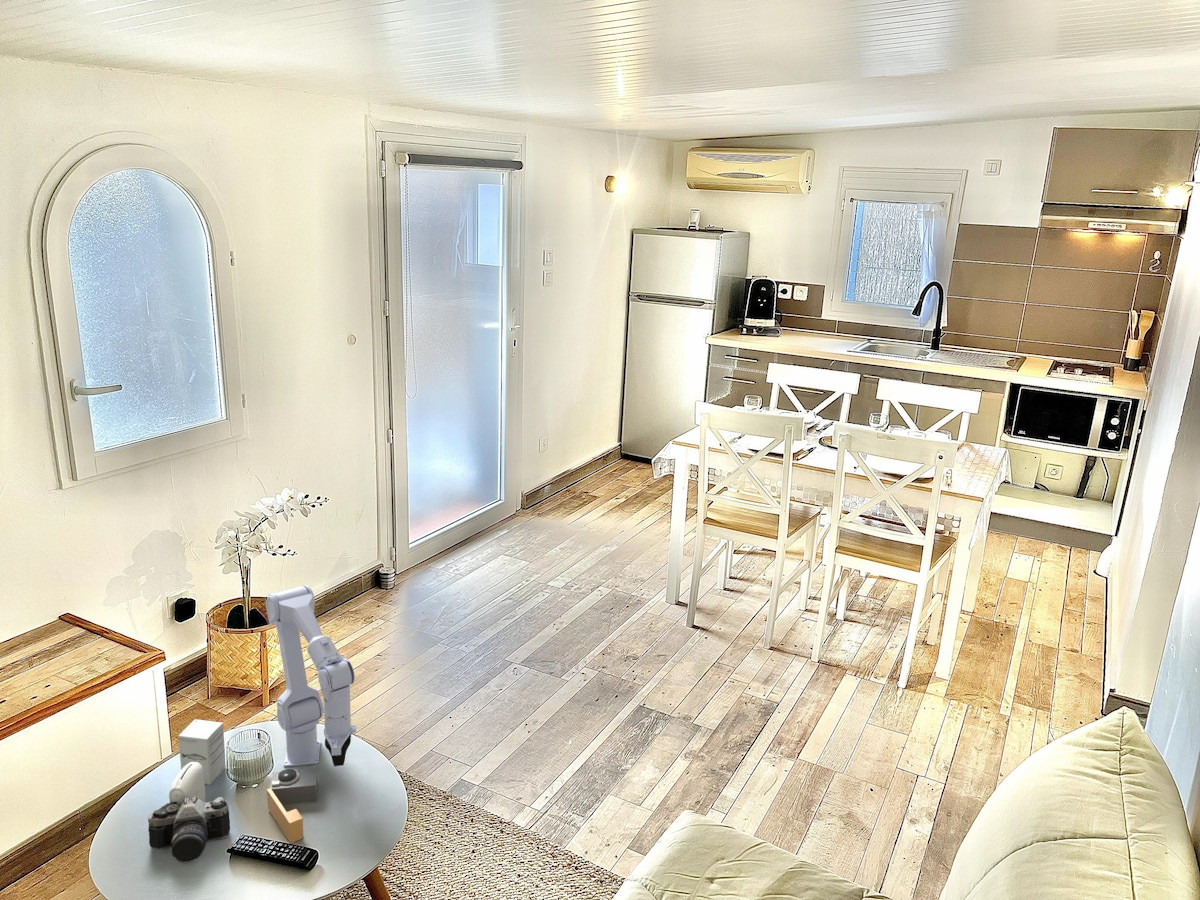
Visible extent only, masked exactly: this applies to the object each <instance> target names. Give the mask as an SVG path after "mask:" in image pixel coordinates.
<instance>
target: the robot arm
mask: <svg viewBox="0 0 1200 900" xmlns="http://www.w3.org/2000/svg"><path fill="white" fill-rule="evenodd" d="M315 602H316V599H315V596H314V592H313V590H312V588H311V587H310V586H309V585H307V584H304V585H302V586H299V587H295V588H290V589H288V590H287V589H285V590H283V591H279V592H275V593H269V594H268V596H267V597H266V601H265V608H266V609H265V610H266V614H267V620H268V623H269V625H270V626H275V628H276V632H277V637H278V644H279V648H280V653H281V654H280V656H281V661H282V668H283V673H284V678H285V679H284V681H285V684H286V685H285V687H286V689H285V691H284V692H283V693H282V694H281V695H280V696H278V698H277V700H276V708H277V709H276V718H277V721H278V724H279V726H280V728H281V729H282V730H284V731H285V738H286V739H285V741H286V752H285V756H284V761H283V767H286V768H287V767H296V766H309V765H317V764H318V763H319V759H320V758H319V757H320V750H321V742H322V741H321V740H319V739H318V732H317V731H318V730H317V729H318V728H317V725H319V724H320V720H322V718H324V719H323V722H324V729H323V735H324V737H325V738H324V739H325V740H324V746H325V748H326V749H327V751H328V752H329V754H330V757H331V760H332V764H333V766H334V767H340V766H345V765H344V764H345V761H346V754H347V750H348V748H349V747H350V745H351V740H352V734H355V733H356V732H357V725H353V724H352V719H351V717H352V716H351V715H352V714H351V713H352V712H351V685H353V684H354V682H355V681H356V680H355V678H356V677H355V670H354V667H353V665H352V663H351V660H349V659H347V658H346V657H345V656H344V655H340V653H339V650H338V649H337V647H336V646H335V645H336V644H335V643H334V642H333V640H332V638H331V637H329V636H327V635H324V634H323V631H322V630H321V627H320V624H319V622H318V619H317V618H316V616H315V613H314V612H315ZM300 634H301V635H302V636H303V638H304V639H305V640H306V642H307V643H308V646H307V649H306V651H307V654H308V655H309V657H310V659H311V661H312V663H313V665H314V667H315V668H316V670H317V672H318V674H317V678H318V679H317V680H318V683H319V686H320V691H319V690H318V689H317V688H316V687H314V686H311V685H309V684H308V680H307V673H306V667H305V661H304V655H303V648H302V643H301V642H302V641H301V635H300ZM320 693H321V694H320ZM321 696H322V697H323V700H322V698H321Z"/></svg>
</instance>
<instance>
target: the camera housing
mask: <svg viewBox="0 0 1200 900" xmlns="http://www.w3.org/2000/svg"><path fill="white" fill-rule="evenodd" d="M269 788H271V790H272V791H273V793H274V794H275V796H276V797H277V798H278V800H279V801H280V803H281V804H282V806H286V805H296V804H307V803H316V802H317V798H318V790H319V770H318V768H308V769H300V770H299V769H297V770H295V769H294V768H293V769H292V768H285V769H282V770H280V771H275V772H273V771H272V775H271V781H270V785H269Z"/></svg>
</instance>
